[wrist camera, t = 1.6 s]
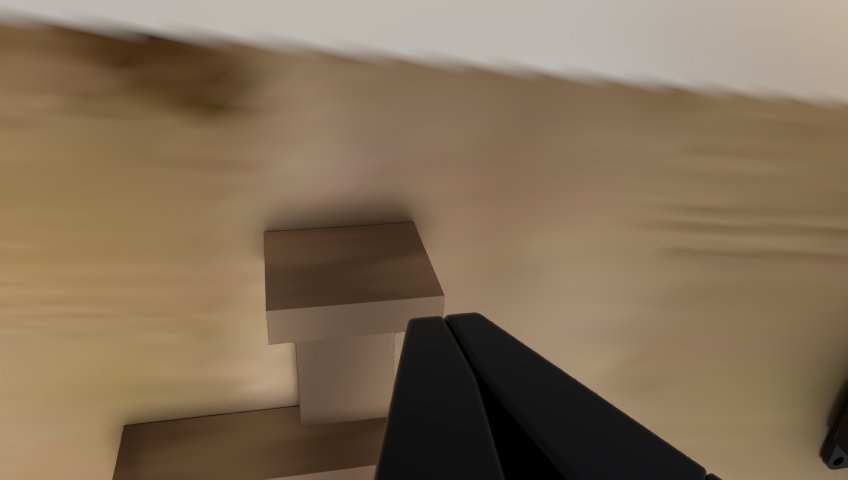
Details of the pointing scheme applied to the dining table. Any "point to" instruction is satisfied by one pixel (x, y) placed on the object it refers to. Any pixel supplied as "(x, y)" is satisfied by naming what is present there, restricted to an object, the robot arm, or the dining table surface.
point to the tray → (309, 364)
